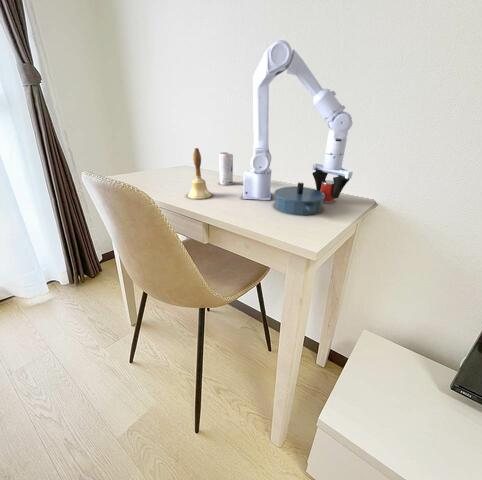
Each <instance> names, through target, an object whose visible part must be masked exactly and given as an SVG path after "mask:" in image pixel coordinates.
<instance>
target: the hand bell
mask: <svg viewBox="0 0 482 480" xmlns="http://www.w3.org/2000/svg"><path fill="white" fill-rule="evenodd" d="M192 159H193V165H194V167H195V179H193V180H191V181H192V182H191V189H190V192H188V194H187V198H189V199H193V200H204V199H209V198H211V197H212V193H211V192H210V191H209V189H208V187H207V183H206V180H205V179H204V178H202V173H201V165H202V155H201V151H200V149H199V147H194V150H193V155H192Z"/></svg>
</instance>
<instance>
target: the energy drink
mask: <svg viewBox="0 0 482 480" xmlns="http://www.w3.org/2000/svg"><path fill="white" fill-rule="evenodd" d="M218 161H219V162H218V163H219V165H218V166H219V167H218V169H219V184H220V185H222V186H231V185H233V184H234V156H233V152H229V151H227V152H226V151H225V152H219V154H218Z"/></svg>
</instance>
